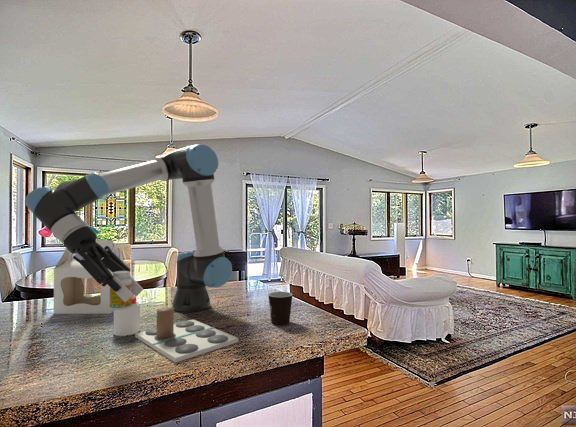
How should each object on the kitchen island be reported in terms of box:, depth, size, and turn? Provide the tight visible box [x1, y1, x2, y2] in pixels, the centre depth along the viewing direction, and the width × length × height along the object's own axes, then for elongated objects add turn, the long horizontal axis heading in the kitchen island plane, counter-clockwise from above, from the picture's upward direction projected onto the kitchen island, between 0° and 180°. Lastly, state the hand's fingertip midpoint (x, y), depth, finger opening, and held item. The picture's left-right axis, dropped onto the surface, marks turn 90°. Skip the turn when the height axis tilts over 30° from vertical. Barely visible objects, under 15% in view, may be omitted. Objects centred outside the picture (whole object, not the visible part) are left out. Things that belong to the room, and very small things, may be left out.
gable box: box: [53, 239, 127, 315], centre depth 135 cm, size 22×13×28 cm, turn 92°
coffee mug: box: [267, 291, 293, 327], centre depth 120 cm, size 12×9×10 cm
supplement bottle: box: [110, 271, 132, 310], centre depth 91 cm, size 5×5×10 cm
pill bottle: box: [112, 295, 141, 337], centre depth 109 cm, size 8×8×11 cm
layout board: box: [134, 306, 239, 363], centre depth 102 cm, size 26×20×10 cm
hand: (134, 295), depth 91 cm, fingers closed on supplement bottle, 5 cm apart
